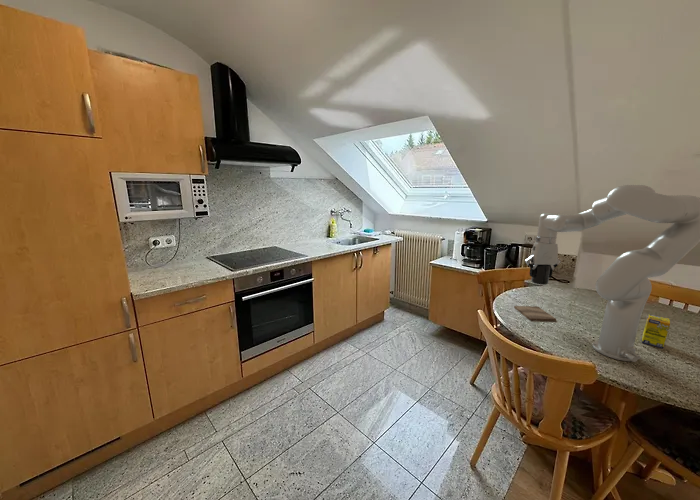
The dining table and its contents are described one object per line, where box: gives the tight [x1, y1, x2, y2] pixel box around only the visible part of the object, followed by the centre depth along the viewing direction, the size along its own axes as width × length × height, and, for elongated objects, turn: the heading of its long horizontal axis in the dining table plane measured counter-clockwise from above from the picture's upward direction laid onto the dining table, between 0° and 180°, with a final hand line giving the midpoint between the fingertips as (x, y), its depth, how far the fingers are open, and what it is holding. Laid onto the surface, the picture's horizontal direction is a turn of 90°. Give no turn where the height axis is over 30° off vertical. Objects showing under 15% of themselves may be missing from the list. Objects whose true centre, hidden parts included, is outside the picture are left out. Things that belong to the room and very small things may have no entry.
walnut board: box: [513, 305, 557, 322], centre depth 139 cm, size 14×12×1 cm
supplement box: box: [641, 313, 671, 350], centre depth 112 cm, size 6×6×11 cm
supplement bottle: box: [530, 265, 550, 286], centre depth 134 cm, size 7×7×12 cm
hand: (540, 276), depth 134 cm, fingers closed on supplement bottle, 6 cm apart
